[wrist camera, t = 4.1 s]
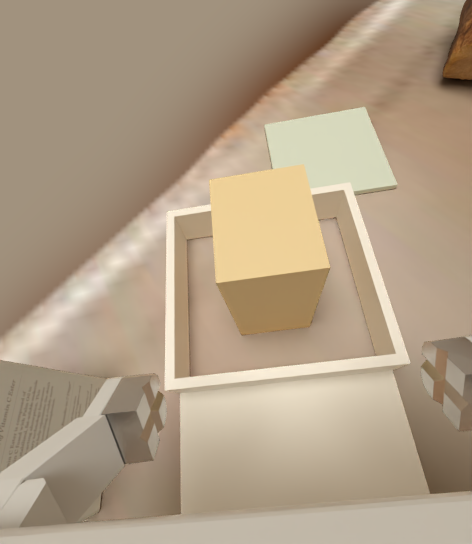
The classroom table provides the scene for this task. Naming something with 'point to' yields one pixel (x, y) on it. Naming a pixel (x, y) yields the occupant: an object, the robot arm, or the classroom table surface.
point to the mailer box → (292, 398)
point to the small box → (40, 409)
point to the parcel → (268, 248)
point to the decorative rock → (461, 48)
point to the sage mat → (332, 150)
